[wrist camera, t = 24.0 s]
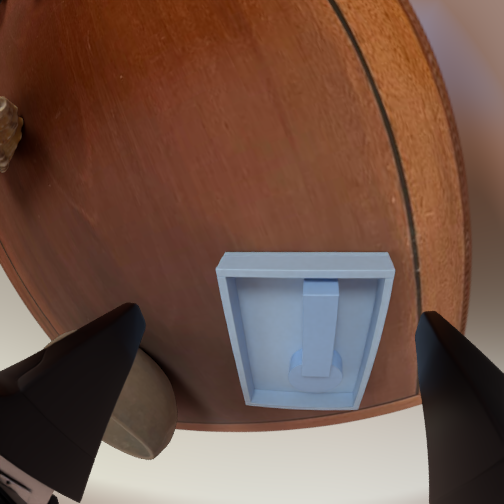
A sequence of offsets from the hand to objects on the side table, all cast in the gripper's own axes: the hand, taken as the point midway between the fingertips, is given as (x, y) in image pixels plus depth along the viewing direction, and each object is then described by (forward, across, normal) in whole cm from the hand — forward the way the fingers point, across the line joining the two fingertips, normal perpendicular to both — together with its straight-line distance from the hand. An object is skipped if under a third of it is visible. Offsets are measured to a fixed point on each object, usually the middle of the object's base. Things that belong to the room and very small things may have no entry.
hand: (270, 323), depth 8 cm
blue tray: (+11, 0, +12) cm, 16 cm away
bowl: (+11, +21, +18) cm, 30 cm away
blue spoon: (+10, -1, +10) cm, 15 cm away
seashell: (+11, +26, -11) cm, 30 cm away
